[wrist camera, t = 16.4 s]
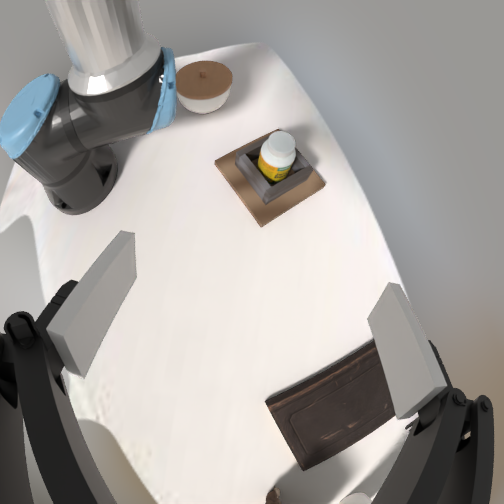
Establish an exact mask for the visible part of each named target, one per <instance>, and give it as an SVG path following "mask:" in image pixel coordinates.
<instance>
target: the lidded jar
mask: <svg viewBox="0 0 504 504" xmlns="http://www.w3.org/2000/svg"><path fill="white" fill-rule="evenodd" d="M231 84H232V73H231V71H230V70H229V69H228V68H227V67H226V66H225V65H223V64H221V63H218V62H214V61H198V62H194V63H191V64H188V65H186V66H184V67H183V68H182V69H180V70H179V71H178V72H177V74H176V84H175V85H176V91H177V96H178V99H179V101H180V102H181V104H182V105H183V106H184V107H185V108H186V109H188V110H190V111H192V112H195V113H199V114H207V113H211V112H213V111H215V110H217V109H218V108H220V107H221V106H222V105H223V104H224V103H225V102H226V100H227V98H228V96H229V93H230V90H231Z"/></svg>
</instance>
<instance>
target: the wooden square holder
mask: <svg viewBox="0 0 504 504" xmlns="http://www.w3.org/2000/svg"><path fill="white" fill-rule="evenodd" d="M276 131H281V130H279V129H277V130H275V131H273V132H270V133H268V134H266V135H264V136H262V137H260V138H258V139H256V140H254V141H252V142H250V143H248V144H246V145H244V146H242V147H240V148H238V149H236V150H234V151H232V152H230V153H228V154H226V155H225V156H223V157H221V158H219V159H217V160H215V165H216V167H217V168H218V169H219V171H220V172H221V173H222V175H223V176H224V177H225V179H226V180H227V181H228V183H229V184H230V186H231V187H232V188H233V190H234V191H235V192H236V194H237V195H238V196H239V198H240V199H241V201H242V202H243V203H244V205H245V206H246V207H247V209H248V210H249V212H250V213H251V214H252V216H253V217H254V218H255V220H256V221H257V223H258V224H259V225H260V227H263V226H264V225H266V224H267V223H269V222H271V221H272V220H274V219H275V218H277V217H278V216H280V215H281V214H283V213H285V212H286V211H288V210H289V209H291V208H292V207H294V206H295V205H297V204H299V203H300V202H302V201H303V200H305V199H306V198H308V197H310V196H311V195H313V194H314V193H316V192H318V191H319V190H321V189H322V188H324V186H325V184H324V182H323V181H322V180H321V178H320V177H319V176H318V175H317V173H316V172H315V171H314V169H313V168H312V167H311V166H310V164H309V163H308V162H307V161H306V159H305V158H304V157H303V156H302V155H301V153H300V152H299V151H298V150H297V149H296V148H295V151H296V156H295V160H294V162H293V164H292V166H291V168H290V170H289V172H288V174H287V176H286V178H285V179H284V180H282V181H281V182H279V183H277V184H276V185H269V184H268V182H267V181H266V180H265V178H264V177H263V176H262V175H261V173H260V172H259V171H258V170H257V163H258V159H259V155H260V151H261V147H262V145H263V143H264V142H265V141H266V140H268V139H269V136H270V135H271V134H272V133H274V132H276Z"/></svg>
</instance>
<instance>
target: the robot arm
mask: <svg viewBox="0 0 504 504" xmlns="http://www.w3.org/2000/svg"><path fill="white" fill-rule="evenodd" d="M45 2H46V5H47V7H48V10H49V12H50V15H51V17H52V19H53V22H54V24H55V26H56V29H57V31H58V33H59V35H60V37H61V40H62V42H63V44H64V46H65V48H66V50H67V53H68V55H69V57H70V59H71V61H72V63H73V66H72V68H71V69H70V72H69V75H68V79H66V80H64V81H62V82H60V80H59V77H57V76H55V75H54V74H44V75H41V76H39V77H37V78H35V79H34V80H33V81H31V82H30V83H28V84H27V85H26V86H25V87H24V88H23V89H22V90H21V91H20V92H19V93H18V94H17V95H16V96H15V98H14V99H13V100H12V102H11V103H10V105H9V106H8V107H7V109H6V111H5V113H4V115H3V117H2V119H1V123H0V145H1V146H2V148H3V149H4V150H5V151H6V152H7V153H8V155H9V157H10V158H11V159H13V160H14V161H15V162H16V163H18V164H19V165H20V166H21V167H22V168H24V169H25V170H26V171H27V172H28V173H30V174H31V175H32V176H33V177H34V178H36V179H37V180H38V181H39V182H41V183H42V184H43V187H44V189H45V191H46V193H47V196H48V198H49V200H50V202H51V203H52V204H53V205H54V206H55V207H56V208H57V209H59V210H60V211H61V212H63V213H65V214H69V215H79V214H83V213H86V212H88V211H90V210H92V209H93V208H95V207H96V206H97V205H99V204H100V203H101V202H102V201H103V200H104V199H105V197H106V196H107V195H108V194H109V192H110V190H111V189H112V187H113V185H114V182H115V179H116V176H117V160H116V157H115V155H114V153H113V151H112V150H111V148H110V147H109V146H108V144H112V143H115V142H118V141H122V140H125V139H129V138H132V137H136V136H140V135H144V134H149V133H151V132H152V131H155V130H158V129H161V128H165V127H167V126H169V125H170V124H171V123H172V122H173V121H174V119H175V116H176V107H177V91H176V85H175V84H176V69H175V60H174V54H173V51H172V49H171V48H164V47H160V43H159V41H158V39H157V38H156V37H154V36H153V35H151V34H148V33H145V32H144V28H143V22H142V17H141V11H140V5H139V0H45ZM136 278H137V275H136V257H135V233H131V232H126V231H120V232H119V233H118V235H117V236H116V237H115V238H114V239H113V240H112V241H111V243H110V244H109V245H108V246H107V247H106V249H105V250H104V251H103V252H102V253H101V255H100V256H99V257H98V258H97V260H96V261H95V262H94V263H93V265H92V266H91V267H90V268H89V270H88V271H87V272H86V273H85V275H84V276H83V277H82V279H81V280H80V281H79V282H77V281H74V280H70V281H68V282H67V283H65V284H64V285H62V286H61V288H60V289H59V290H58V291H57V293H56V295H55V296H54V297H53V298H52V299H51V302H50V303H48V305H47V306H46V308H45V309H44V310H43V312H42V313H41V315H40V316H39V317H38V319H37V320H36V322H35V321H34V319H33V317H32V316H31V315H30V314H29V313H27V312H24V311H21V312H16V313H14V314H12V315H11V316H10V317H9V318H8V319H7V320H6V322H5V324H4V330H5V332H6V334H2V333H0V504H34V502H33V499H32V493H31V489H30V483H29V478H28V471H27V464H26V456H25V446H24V432H23V418H24V422H25V426H26V430H27V434H28V437H29V441H30V444H31V447H32V450H33V454H34V456H35V460H36V462H37V465H38V468H39V471H40V473H41V476H42V478H43V481H44V483H45V485H46V488H47V490H48V493H49V495H50V497H51V499H52V501H53V503H54V504H117V503H116V501H115V499H114V498H113V496H112V494H111V493H110V491H109V489H108V487H107V485H106V484H105V482H104V480H103V478H102V476H101V474H100V472H99V471H98V468H97V466H96V464H95V462H94V460H93V458H92V456H91V453H90V451H89V449H88V447H87V444H86V442H85V440H84V437H83V435H82V432H81V430H80V428H79V425H78V422H77V419H76V417H75V414H74V411H73V408H72V405H71V402H70V399H69V396H68V393H67V389H66V386H65V382H64V379H63V376H62V374H61V371H62V369H63V367H64V366H65V368H66V370H67V371H68V373H69V374H72V375H74V376H76V377H79V378H81V379H85V377H86V374H87V372H88V370H89V368H90V366H91V364H92V361H93V359H94V357H95V355H96V353H97V351H98V349H99V347H100V345H101V343H102V341H103V339H104V337H105V335H106V333H107V331H108V329H109V327H110V325H111V323H112V321H113V320H114V318H115V316H116V314H117V312H118V310H119V308H120V306H121V305H122V303H123V301H124V299H125V297H126V296H127V294H128V292H129V290H130V289H131V287H132V285H133V283H134V282H135V280H136ZM367 320H368V323H369V326H370V329H371V331H372V334H373V337H374V340H375V344H376V347H377V350H378V353H379V356H380V359H381V363H382V366H383V369H384V373H385V376H386V379H387V383H388V387H389V390H390V394H391V398H392V401H393V405H394V409H395V413H396V417H397V420H399V419H407V418H410V417H411V416H413V415H414V414H415V413H417V412H418V415H419V417H418V418H416V419H415V420H414V421H412V422H411V423H410V424H408V425H407V426H406V428H405V429H408V428H409V427H411V426H412V428H411V429H410V430H409V431H410V433H409V435H408V437H407V439H406V442H405V444H404V446H403V448H402V450H401V452H400V454H399V456H398V458H397V460H396V462H395V464H394V466H393V467H392V469H391V471H390V473H389V475H388V477H387V478H386V480H385V482H384V483H383V485H382V487H381V488H380V490H379V492H378V493H377V495H376V497H375V498H374V500H373V501H372V503H371V504H489V501H490V494H491V486H492V477H493V463H494V418H493V407H492V403H491V401H490V399H489V398H488V397H486V396H485V395H481V396H479V397H478V398H477V399H475V400H474V401H473V400H468V399H466V396H465V394H464V393H463V392H462V391H461V390H460V389H457V388H453V387H452V384H451V382H450V379H449V377H448V374H447V372H446V370H445V367H444V365H443V364H442V360H441V358H439V354H438V351H437V349H436V347H435V346H434V345H433V344H432V343H431V341H430V340H428V339H427V337H426V335H425V333H424V331H423V329H422V327H421V325H420V322H419V321H418V318H417V316H416V315H415V312H414V311H413V309H412V307H411V305H410V303H409V301H408V299H407V297H406V295H405V293H404V292H403V290H402V288H401V286H400V284H395V283H390V282H389V283H388V284H387V286H386V288H385V290H384V292H383V293H382V295H381V297H380V298H379V300H378V302H377V304H376V305H375V307H374V309H373V310H372V312H371V313H370V315H369V317H368V318H367ZM470 431H471V433H470V437H468V438H467V439H465V438H464V435H465V434H467V433H468V432H470Z"/></svg>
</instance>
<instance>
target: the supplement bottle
mask: <svg viewBox="0 0 504 504" xmlns="http://www.w3.org/2000/svg"><path fill="white" fill-rule="evenodd" d="M295 146H296V142H295V139H294V138H293V136H292V135H290V134H289V133H287V132H284V131H276V132H274V133H272V134H271V135H270V136H269V139H268V140H266V141H265V142H264V143H263V145H262V147H261V151H260V155H259V159H258V163H257V170H258V171H259V172H260V173H261V175H262V176H263V177H264V178H265V180H266V181H267V182H268V184H269V185H276V184H277V183H279V182H281V181H282V180H284V179H285V178H286V176H287V174H288V172H289V170H290V168H291V166H292V164H293V162H294V160H295V156H296V151H295Z"/></svg>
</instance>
